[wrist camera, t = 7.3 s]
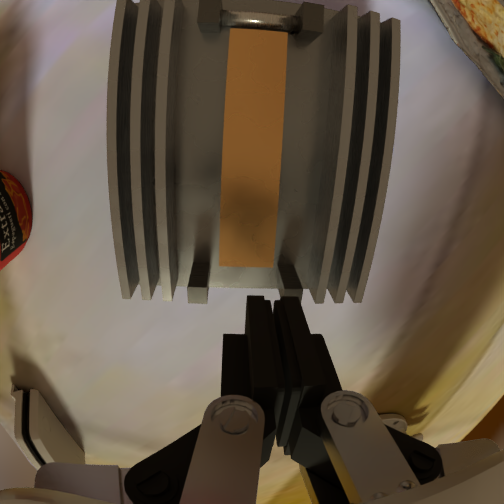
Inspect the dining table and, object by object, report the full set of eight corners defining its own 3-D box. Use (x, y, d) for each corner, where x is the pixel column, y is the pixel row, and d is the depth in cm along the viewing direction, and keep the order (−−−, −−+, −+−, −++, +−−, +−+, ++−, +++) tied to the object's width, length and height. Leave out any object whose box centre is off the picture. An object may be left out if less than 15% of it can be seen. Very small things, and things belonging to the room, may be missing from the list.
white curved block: (10, 382, 27) (1, 443, 19) (38, 379, 29) (33, 443, 20) (60, 447, 34) (64, 498, 26) (84, 445, 36) (91, 497, 28)
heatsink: (362, 33, 15) (406, 11, 10) (335, 267, 22) (363, 313, 17) (144, 18, 14) (113, -13, 9) (143, 262, 21) (119, 309, 16)
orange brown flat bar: (285, 37, 13) (287, 32, 12) (271, 262, 17) (273, 267, 16) (230, 32, 12) (230, 28, 12) (219, 261, 16) (219, 266, 16)
